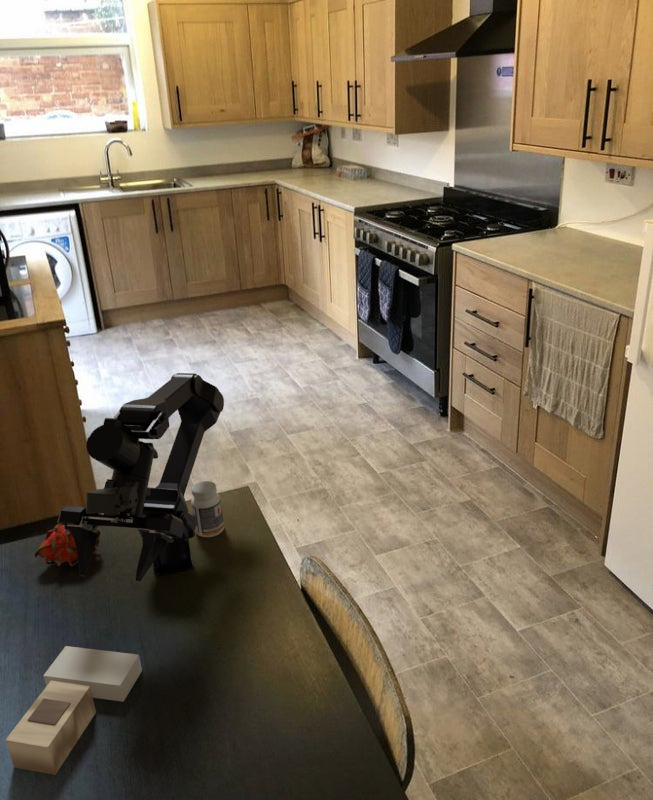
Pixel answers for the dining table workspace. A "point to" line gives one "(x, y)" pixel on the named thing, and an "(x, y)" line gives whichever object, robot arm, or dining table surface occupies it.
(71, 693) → the birch block
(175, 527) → the robot arm
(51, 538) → the dragon fruit
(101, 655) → the grey plinth
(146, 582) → the dining table surface
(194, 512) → the pill bottle
